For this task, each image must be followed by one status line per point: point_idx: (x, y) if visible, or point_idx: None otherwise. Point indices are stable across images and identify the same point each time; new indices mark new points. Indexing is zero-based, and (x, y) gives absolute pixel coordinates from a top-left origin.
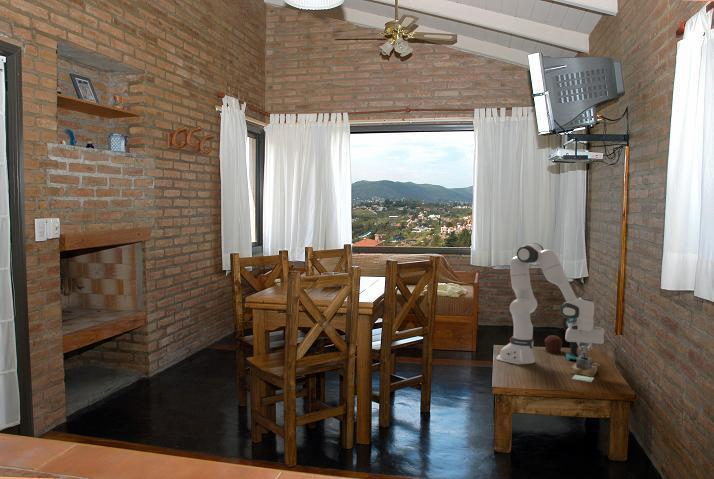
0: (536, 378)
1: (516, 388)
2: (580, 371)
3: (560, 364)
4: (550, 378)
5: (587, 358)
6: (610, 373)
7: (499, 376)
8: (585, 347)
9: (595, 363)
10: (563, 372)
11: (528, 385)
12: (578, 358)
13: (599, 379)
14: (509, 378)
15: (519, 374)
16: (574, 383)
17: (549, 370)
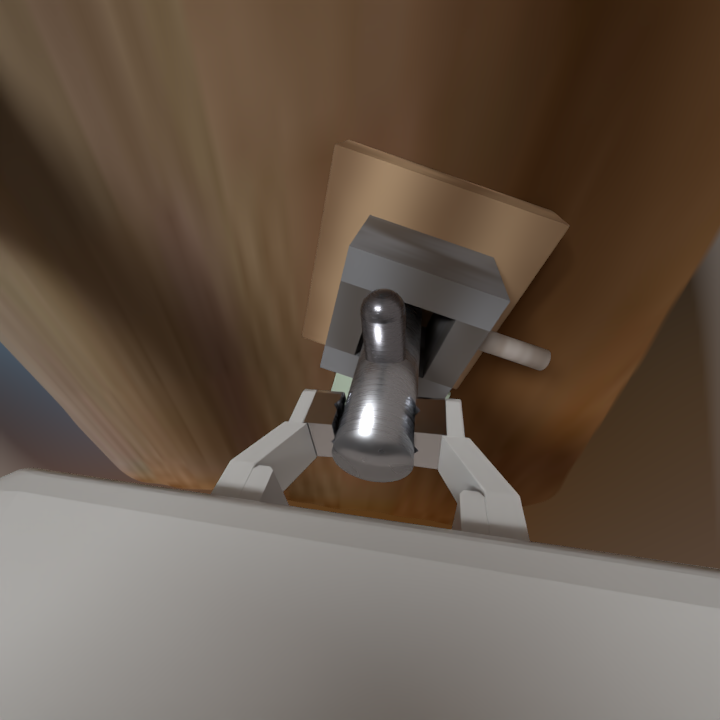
0: (183, 414)
1: (175, 487)
2: None
3: (191, 10)
4: (233, 410)
5: (444, 312)
6: (667, 253)
7: (63, 406)
8: (390, 475)
9: (508, 358)
10: (270, 308)
11: (192, 471)
12: (338, 353)
13: (478, 403)
14: (104, 421)
15: (100, 376)
16: None
17: (182, 282)
